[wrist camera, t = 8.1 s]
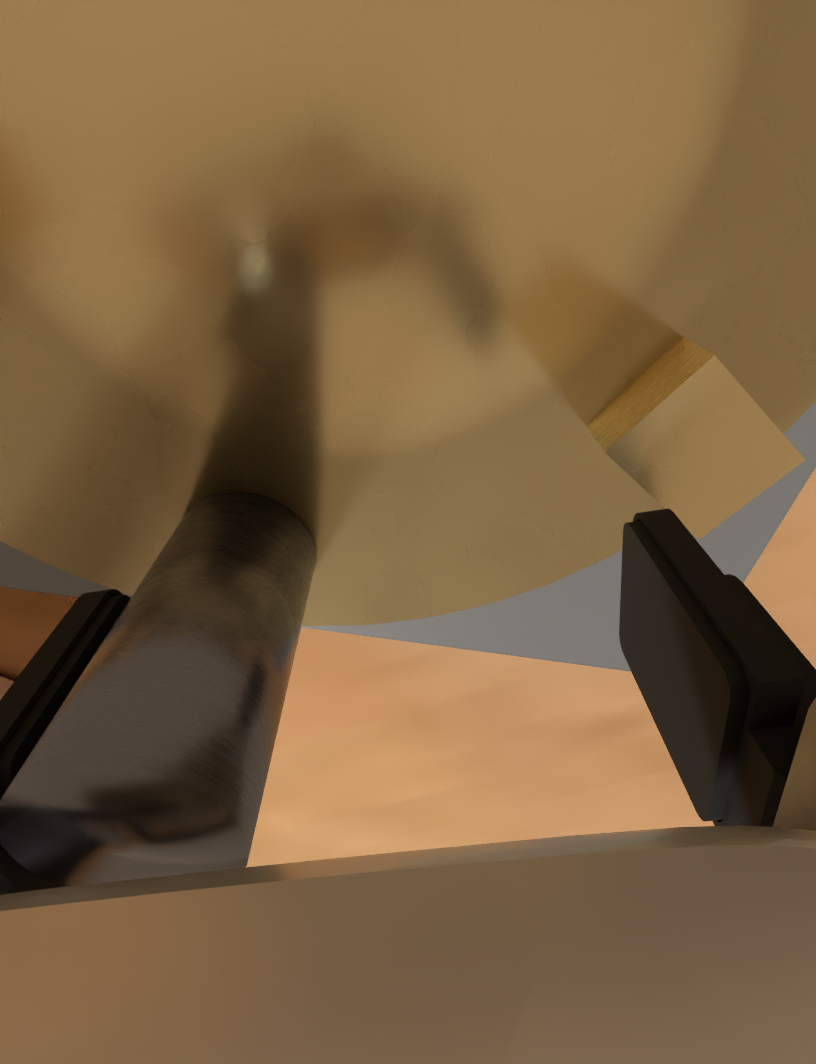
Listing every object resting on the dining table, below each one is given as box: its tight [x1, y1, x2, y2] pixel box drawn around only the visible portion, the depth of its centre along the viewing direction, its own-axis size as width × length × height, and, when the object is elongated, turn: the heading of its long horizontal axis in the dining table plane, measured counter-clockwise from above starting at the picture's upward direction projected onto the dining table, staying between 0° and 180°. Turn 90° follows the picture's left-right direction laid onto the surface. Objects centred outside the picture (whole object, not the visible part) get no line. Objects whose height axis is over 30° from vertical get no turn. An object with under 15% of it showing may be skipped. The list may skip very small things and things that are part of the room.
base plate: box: [0, 402, 816, 671], centre depth 11 cm, size 28×28×2 cm
